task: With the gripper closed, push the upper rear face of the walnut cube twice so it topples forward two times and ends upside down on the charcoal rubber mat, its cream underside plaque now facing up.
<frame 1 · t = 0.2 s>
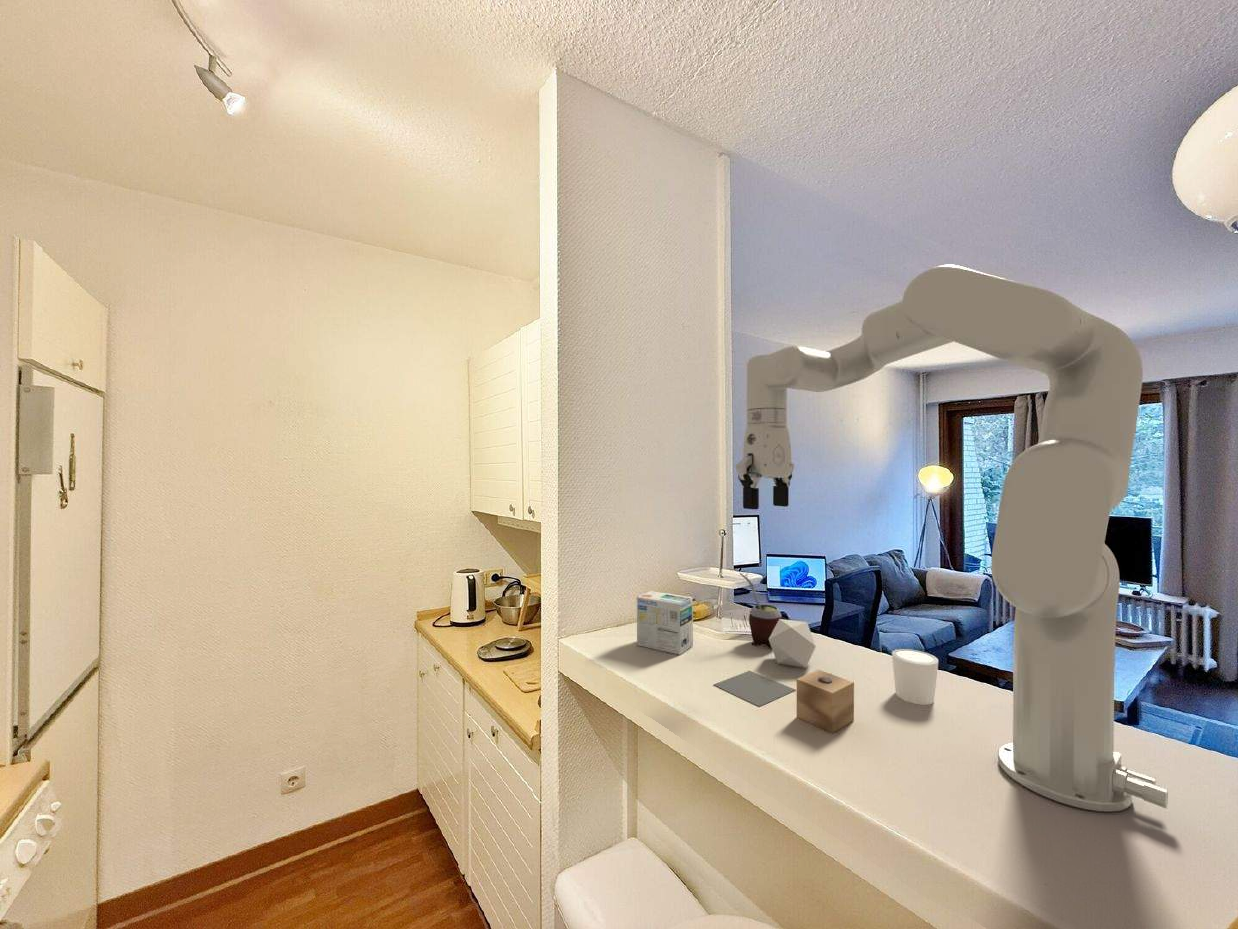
hand: (766, 507, 99), 31 cm above the counter, fingers open, 9 cm apart
walnut block: (825, 719, 78), on the counter
die: (792, 664, 100), on the counter
mate gourd: (763, 644, 111), on the counter
mat: (754, 687, 89), on the counter
light bulb box: (664, 647, 109), on the counter
white cylinder: (914, 698, 86), on the counter
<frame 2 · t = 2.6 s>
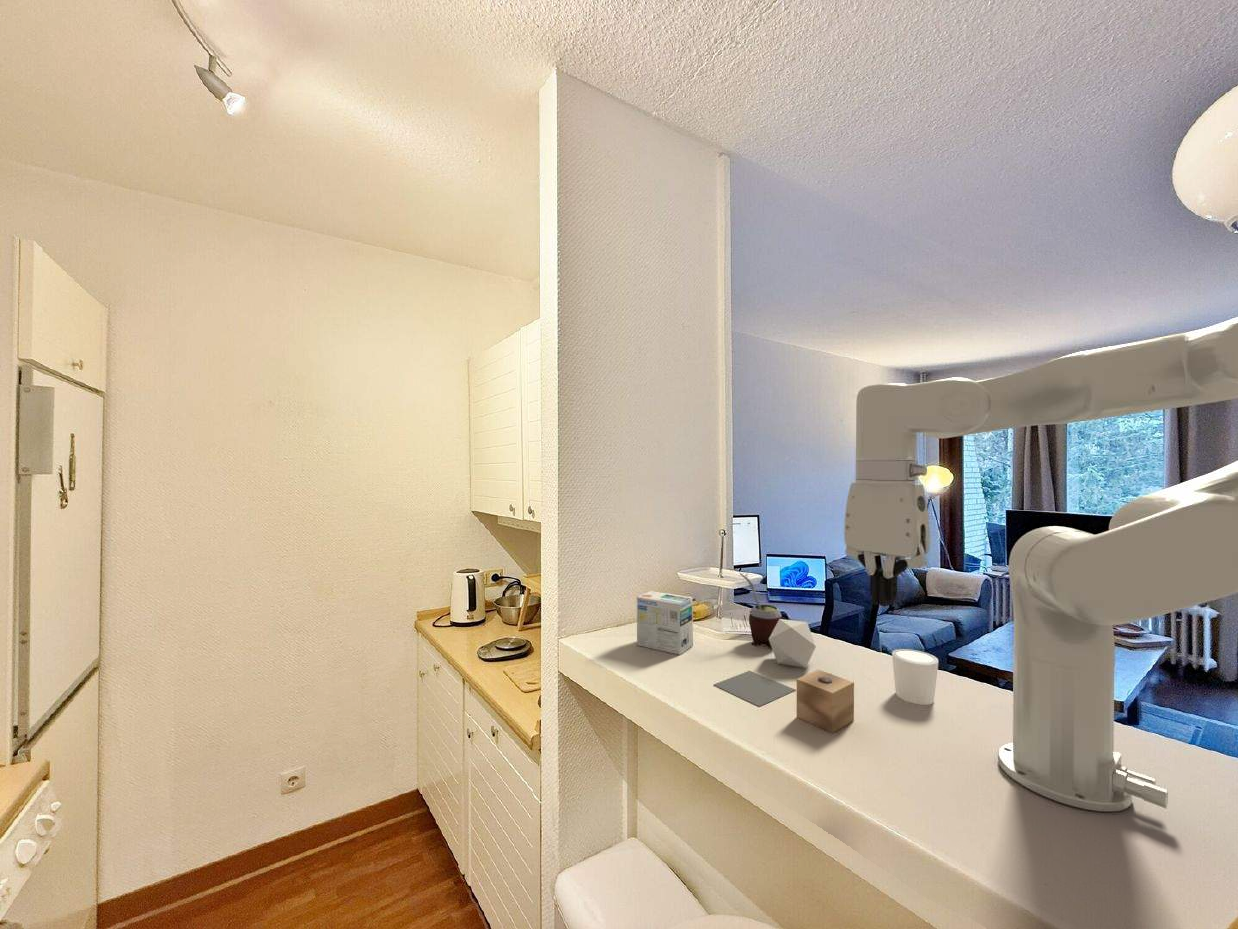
hand: (883, 603, 71), 20 cm above the counter, fingers closed
nothing on the counter moved.
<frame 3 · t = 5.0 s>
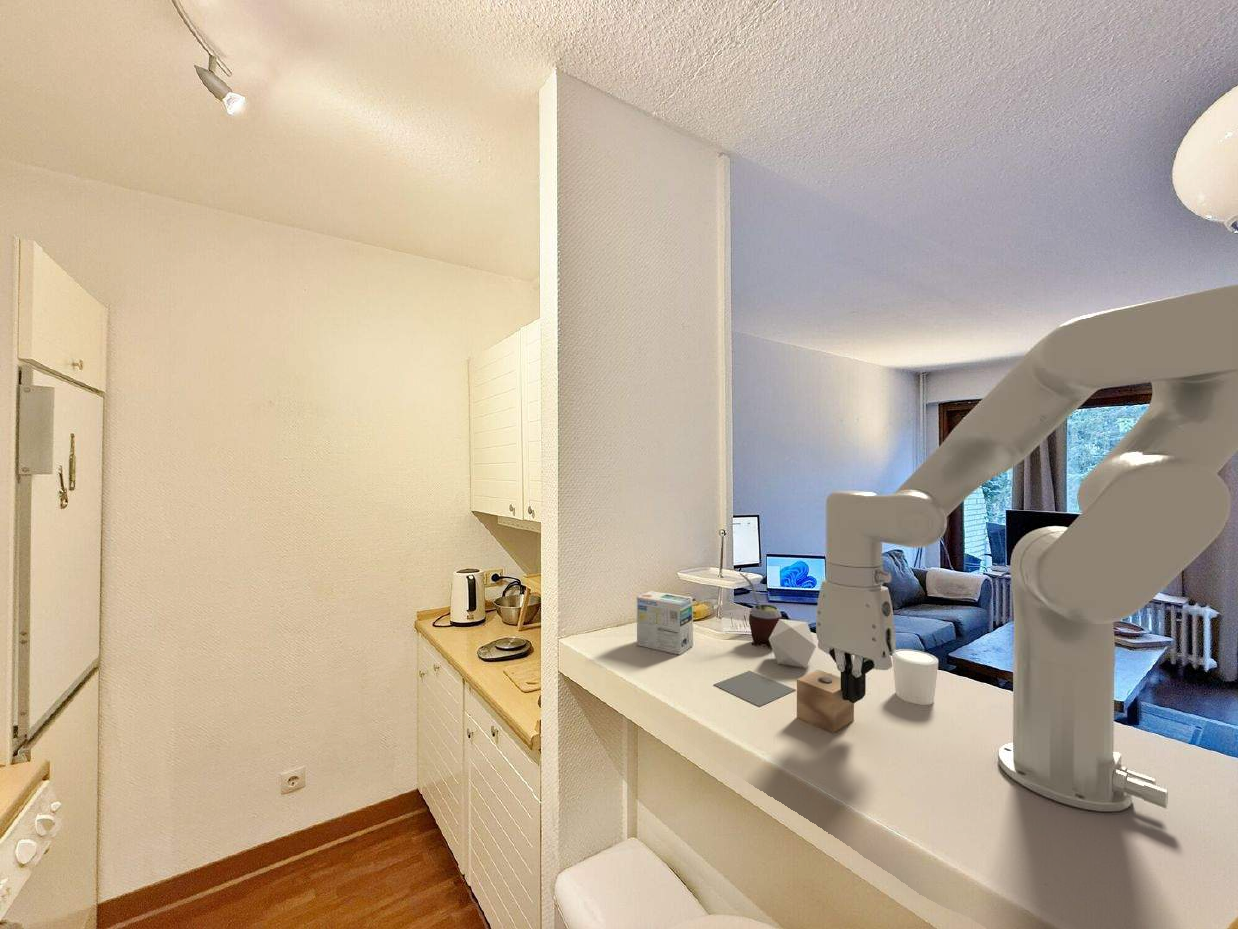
hand: (852, 698, 75), 5 cm above the counter, fingers closed
walnut block: (825, 719, 79), on the counter, touching gripper
everything else where it was.
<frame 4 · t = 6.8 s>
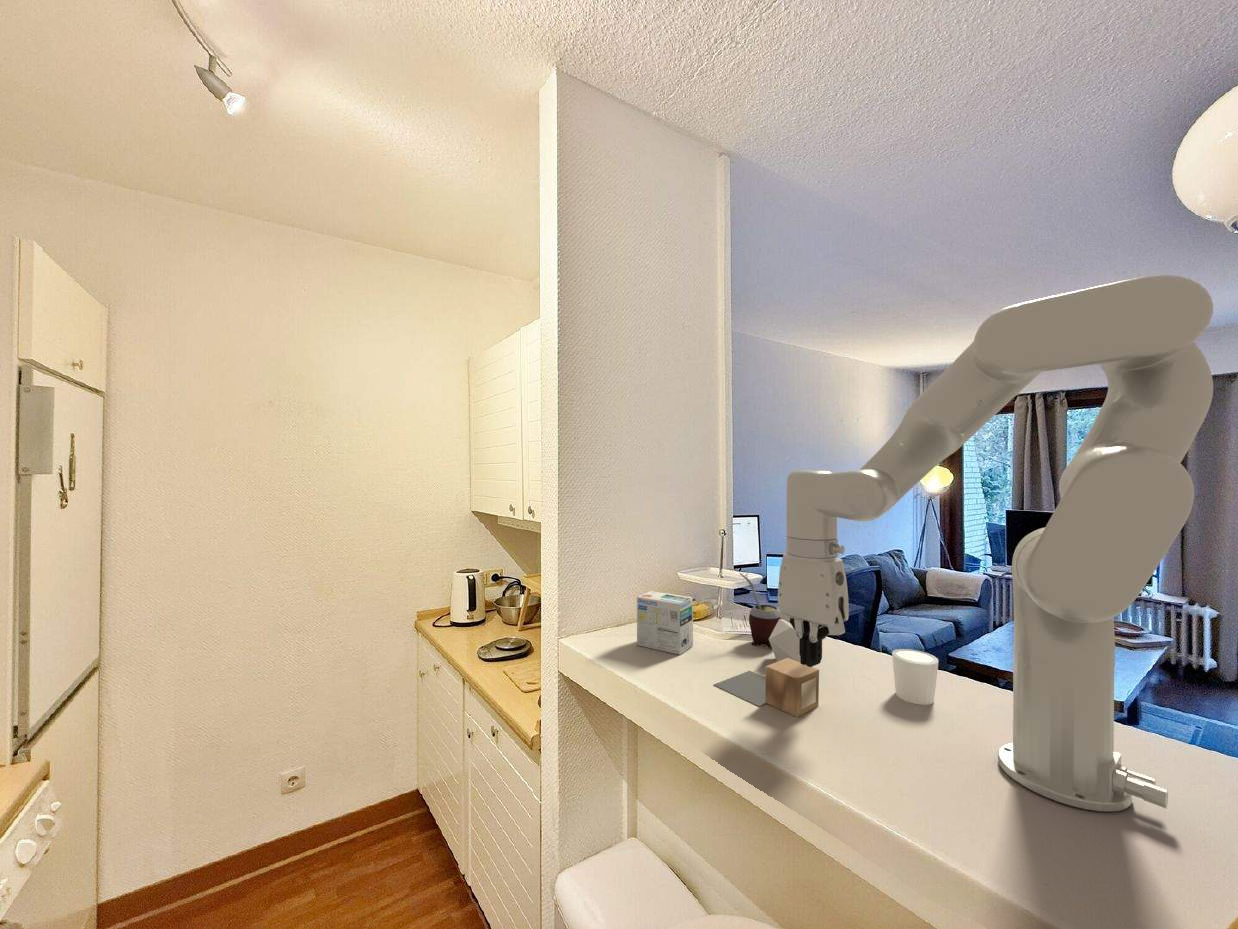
hand: (810, 663, 80), 8 cm above the counter, fingers closed
walnut block: (808, 693, 81), point 3 cm above the counter, tilted 89°, touching mat
everything else where it was.
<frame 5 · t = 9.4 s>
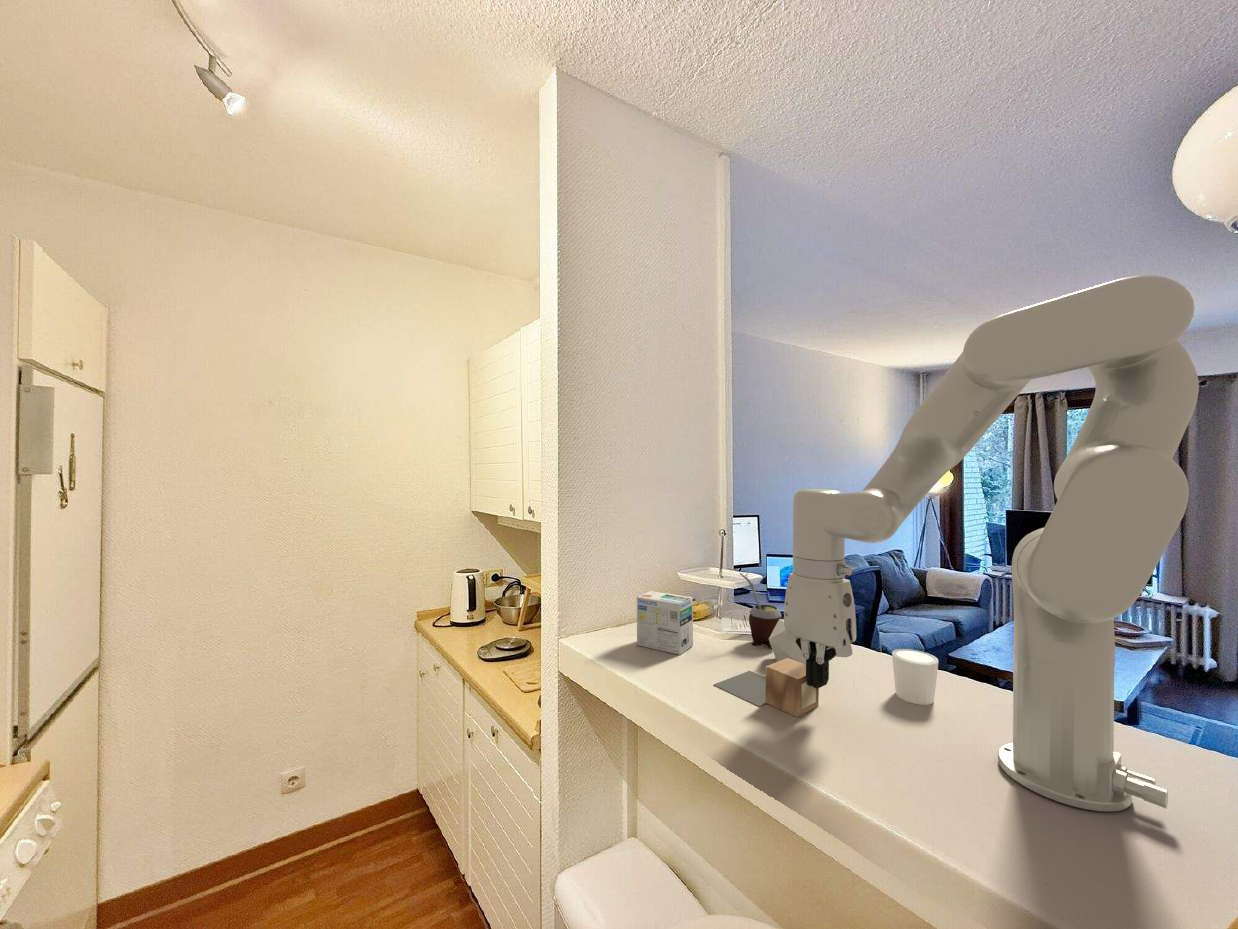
hand: (817, 684, 79), 5 cm above the counter, fingers closed
walnut block: (808, 693, 81), point 3 cm above the counter, tilted 89°, touching gripper, mat
everything else where it was.
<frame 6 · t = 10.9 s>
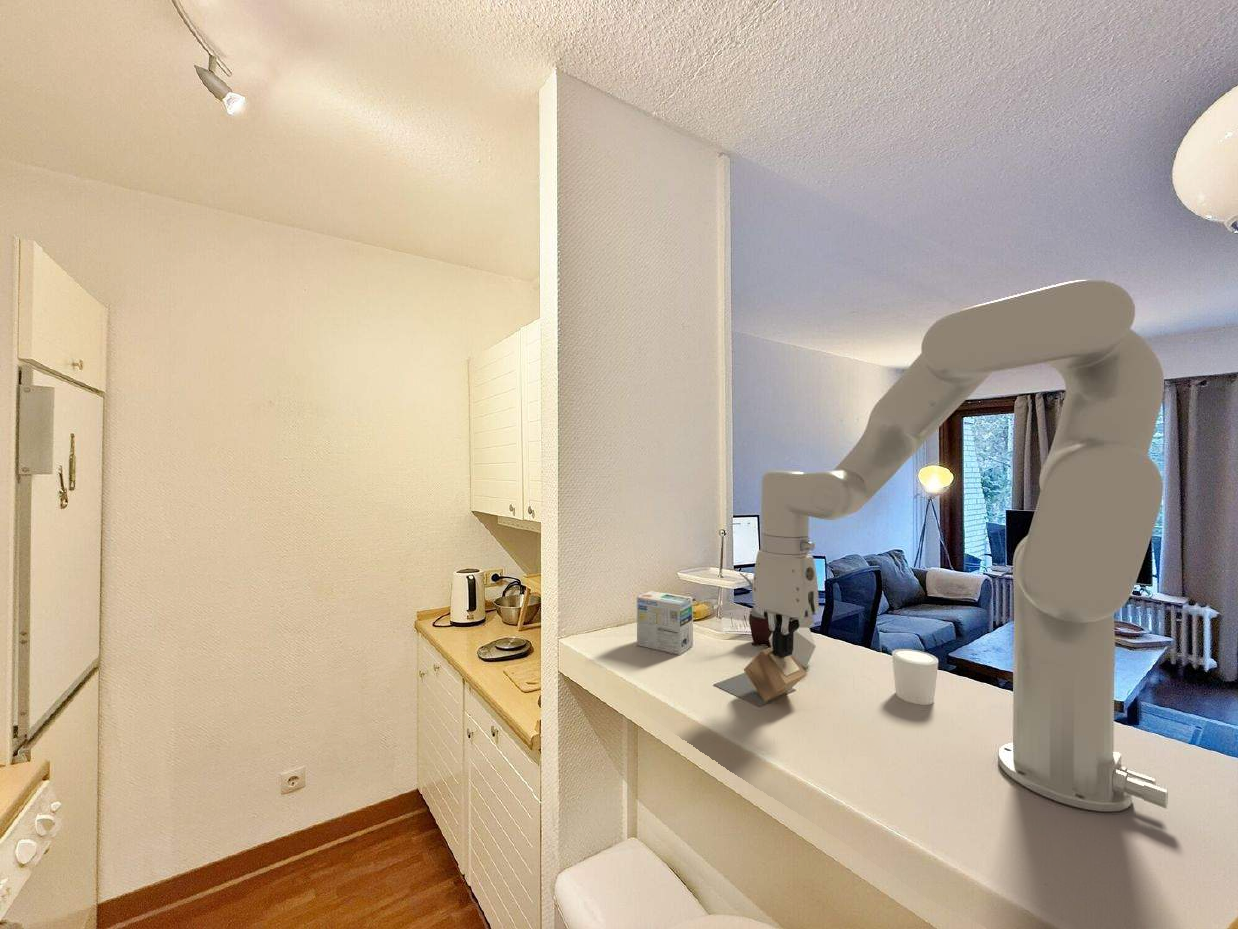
hand: (782, 654, 84), 8 cm above the counter, fingers closed
walnut block: (785, 661, 84), point 7 cm above the counter, tilted 139°, touching gripper, mat
everything else where it was.
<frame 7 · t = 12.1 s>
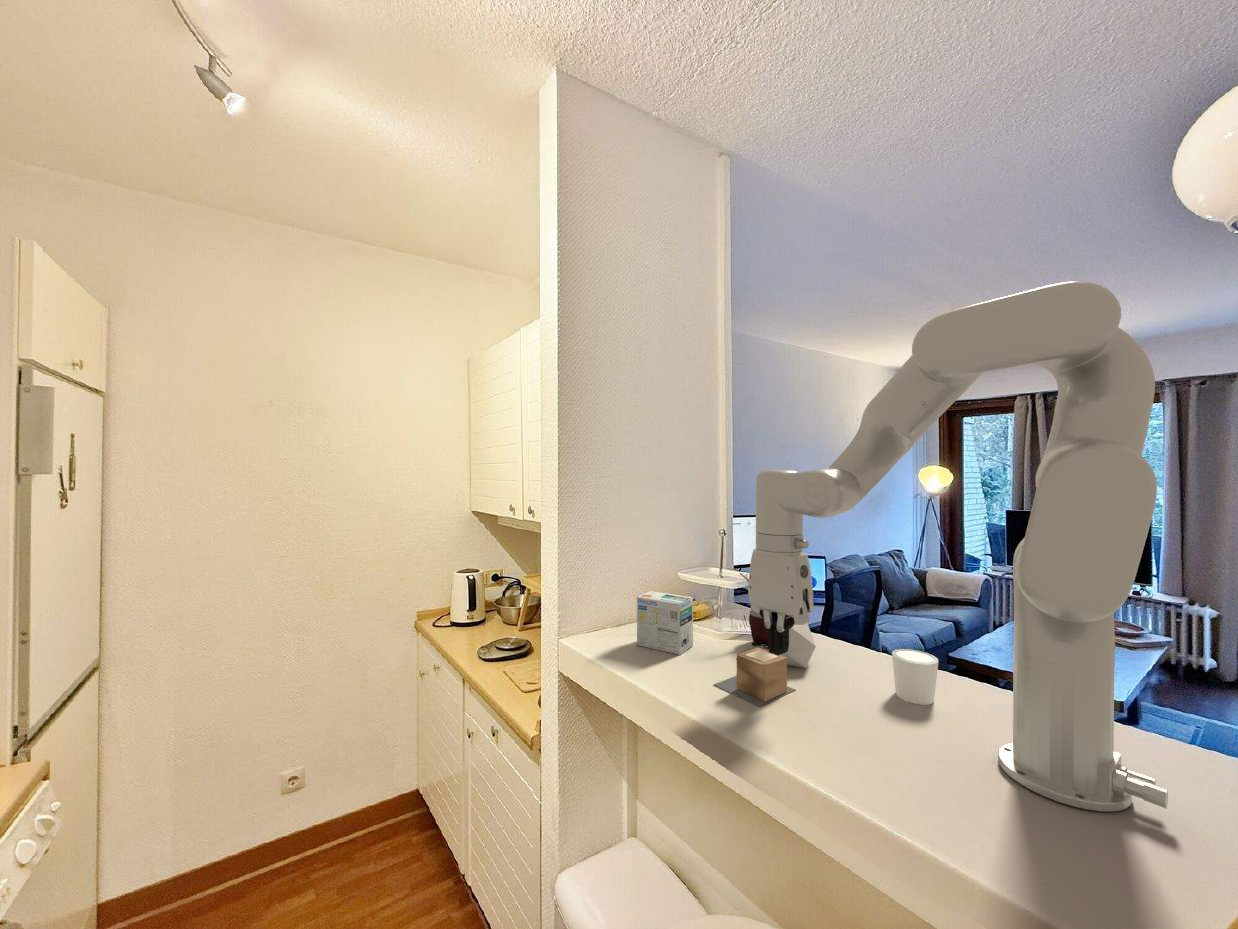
hand: (778, 652, 85), 8 cm above the counter, fingers closed
walnut block: (761, 655, 88), point 6 cm above the counter, tilted 180°, touching mat
everything else where it was.
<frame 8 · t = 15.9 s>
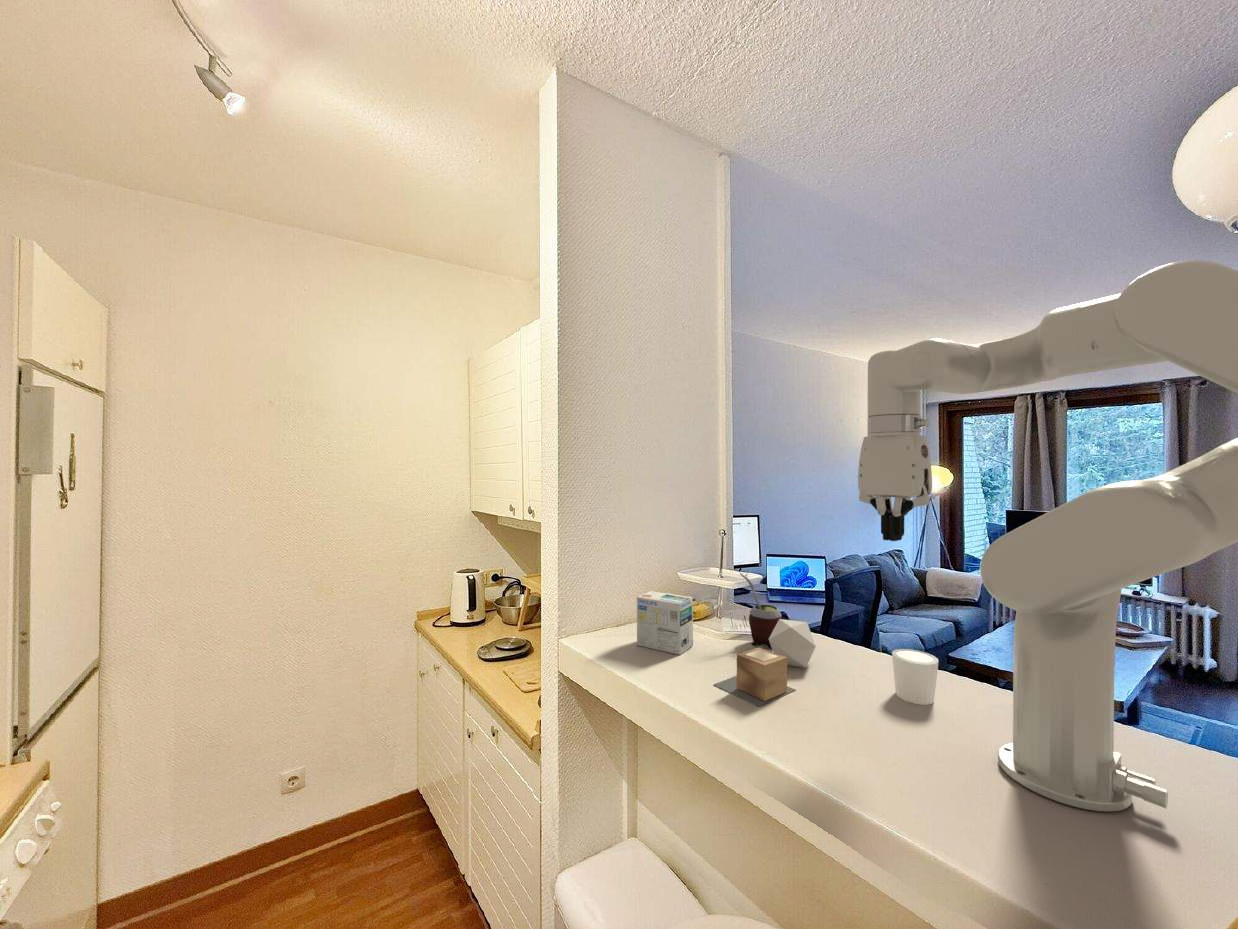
hand: (892, 539, 83), 27 cm above the counter, fingers closed
nothing on the counter moved.
at the end: walnut block inside the target area on the mat (1.6 cm from its centre), point 6.2 cm above the mat's base; walnut block tilted 179° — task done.
